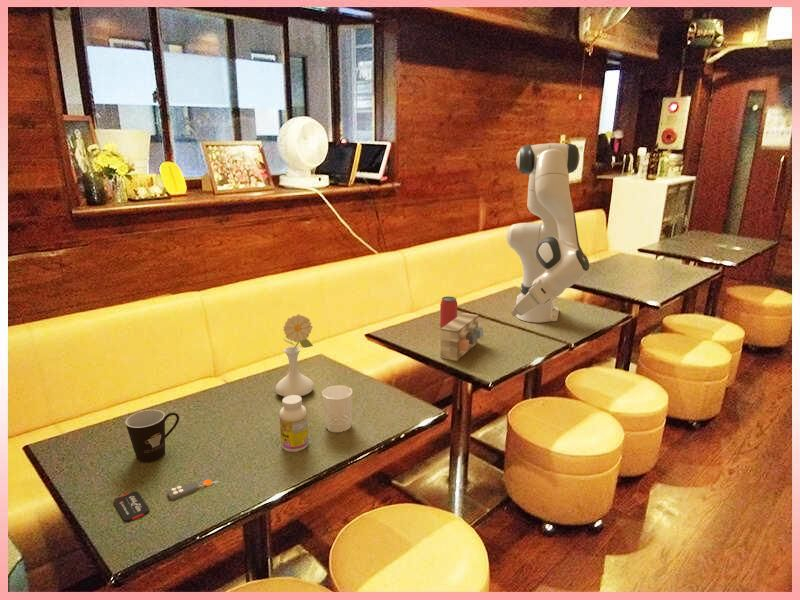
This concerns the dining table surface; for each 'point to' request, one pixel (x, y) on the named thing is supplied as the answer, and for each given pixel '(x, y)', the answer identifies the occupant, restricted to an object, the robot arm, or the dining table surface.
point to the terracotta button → (463, 344)
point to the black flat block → (131, 506)
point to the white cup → (337, 408)
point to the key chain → (186, 489)
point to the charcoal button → (471, 338)
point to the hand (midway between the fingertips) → (515, 312)
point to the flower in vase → (295, 357)
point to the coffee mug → (148, 434)
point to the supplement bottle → (293, 424)
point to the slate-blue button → (478, 332)
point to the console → (457, 335)
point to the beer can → (447, 310)
